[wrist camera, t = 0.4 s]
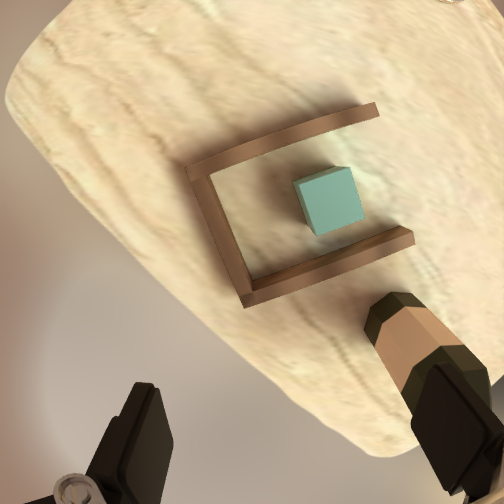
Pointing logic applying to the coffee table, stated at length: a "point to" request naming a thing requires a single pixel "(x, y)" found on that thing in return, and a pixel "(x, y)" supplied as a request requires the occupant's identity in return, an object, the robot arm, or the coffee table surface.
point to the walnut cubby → (303, 272)
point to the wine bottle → (419, 347)
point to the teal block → (329, 199)
